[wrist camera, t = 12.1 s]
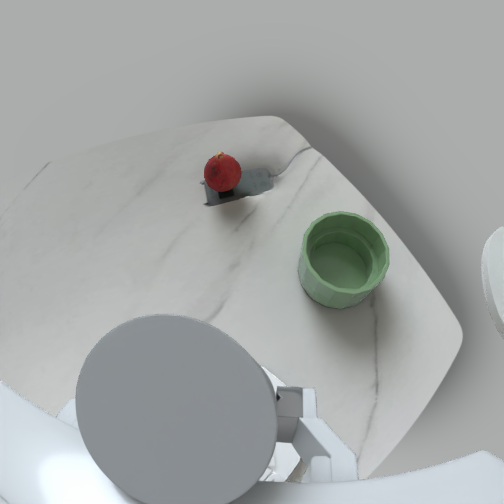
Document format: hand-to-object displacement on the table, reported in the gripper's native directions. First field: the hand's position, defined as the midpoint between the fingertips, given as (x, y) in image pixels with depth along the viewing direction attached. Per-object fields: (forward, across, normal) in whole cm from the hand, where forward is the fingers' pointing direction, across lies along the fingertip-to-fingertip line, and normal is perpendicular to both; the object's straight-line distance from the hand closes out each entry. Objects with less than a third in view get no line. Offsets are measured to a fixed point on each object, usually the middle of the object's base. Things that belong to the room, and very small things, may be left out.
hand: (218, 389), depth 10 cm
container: (+6, 0, +7) cm, 9 cm away
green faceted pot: (+28, -10, +5) cm, 31 cm away
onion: (+38, +8, -4) cm, 39 cm away
